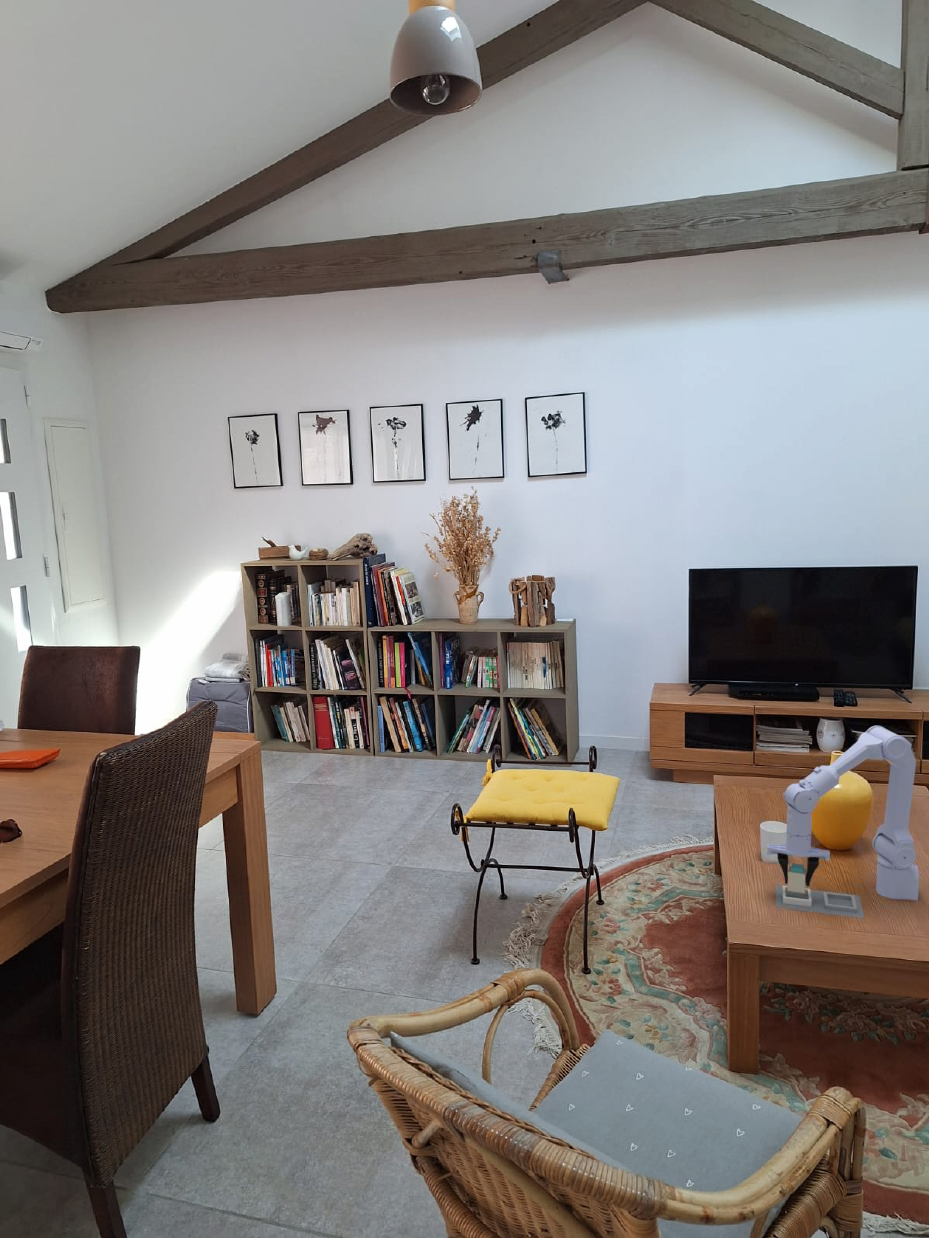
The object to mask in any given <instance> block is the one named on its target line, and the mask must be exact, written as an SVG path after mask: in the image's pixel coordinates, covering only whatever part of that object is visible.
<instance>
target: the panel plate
mask: <svg viewBox="0 0 929 1238" xmlns="http://www.w3.org/2000/svg"><path fill="white" fill-rule="evenodd" d="M783 886H784V885H781V886H780V885H775V887H774V888H775V890H774V893H775V908H776V909H777V908H778V909H785V910H793V911H800V912H801V911H802V912H808V913H809V912H810V913H815V914H816V913H818V914H825V915H832V916H840V917H847V918H848V917H849V918H856V919H865V915H864V911H863V906H862V902H861V898H860V895H857V894H853V895H854V897H855V901H856V906H857V913H854V912H846V911H838V910H830V909H825V905H824V898H823V892H826V891H825V890H824V891H823V890H816V889H815V890H814V889H810V891H811V900H812V906H811V907H810V906H802V905H794V904H786V903H783V892H782V889H783ZM828 892H829V893H835V892H831V891H828ZM837 893H838V894H843V893H841V892H837ZM845 894H846V895H852V894H850V893H845ZM786 897H792V898H800V899H808V895H802V894H793V893H786ZM827 898H828V897H827ZM828 904H832V905H840V906H849V907H852V903H851V900H845V899H836V898H828Z"/></svg>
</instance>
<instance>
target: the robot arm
mask: <svg viewBox="0 0 929 1238" xmlns="http://www.w3.org/2000/svg"><path fill="white" fill-rule="evenodd" d="M912 746H913V745H912V743H911V742H910V741H909V740H907V739H906V738H905V737H904V736H902V735H901V734H900V735H899V734H897V733H895V732H892V731H891V730H888V729H887V728H885V727H883V726H881V725H873V726H871V727H869V728H868V729H867V730H866V731H865V732H863V733H861V734H860V735H859V737H858V739H857V741H856V742H855V743H853V744H852V745H851V747H849V748H848V749H847V750H846V751H845V752H844V753H842V755H839V757H838V758H837V759H835V760H834V761H833V762H832V763H831V764H830V765H820V766H816V767H815V768H814V769H813V772H811V773H810V774H809V775H807V776H806V777H804V778H803V779H801V780H799V781H798V783H792V784H790V785H788V787H787V788H786V790H785V792H784V793H782V797H783V800H784V801H785V803H786V806H787V807H786V825H787V833H786V844H777V845H771V844H767V854H769V855H772V854H777V855H778V862H779V863H778V864H779V866H780V869H781V870H782V873H783V876H784V884H785V885H788V870H789V856H790V857H791V856H792V857H797V858H806V862H807V863H806V864H807V866H806V868H807V874H806V887H810V885H811V884H810V883H811V880H812V879H813V876H814V873H815V871H816V870H817V868H818V867H819V865H820V861H819V860H824V861H827V862H830V861H831V857H830V856H831V855H830V854H831V853H830V850H827V849H822V848H821V849H820V848H816V847H812V846H811V842H812V821H813V820H812V819H813V818H812V816H813V814H812V813H813V810H815V808H816V807H817V805H818V801H819V800H821V798H822V797H823V796H824V795H826V794H827V793H828V792H830V791H831V790H832V789H833V788H836V786H838V785H839V784H840V783H839V782H840V777H841V776H843V775H845V774H846V773H848V772H849V771H851V770H852V769H854V768H855V767H857V766H858V765H860V764H861V763H863V762H864V761H866V760H873V761H874V760H876V761H883V760H884V759H885V761H887V762H888V763H889V764H890V770H889V778H888V784H887V785H888V787H887V795H886V803H885V804H886V805H885V813H884V821H883V823H882V824H880V825H879V826H878V827H877V830H876V831H877V832H876V834H875V836H874V837H873V840H872V848H873V850H874V851H875V853H877V854H876V857H877V861H876V862H877V866H876V884H875V885H876V886H875V888H876V889H875V891H876V893H877V894H879V895H880V896H882V897H883V898H888V899H892V900H907V901H919V890H920V889H919V887H920V886H919V885H920V872H919V867H918V865H917V864H914V863H915V862H916V859H917V852H916V850H915V840H914V838H913V836H912V834H911V832H910V830H909V824H910V816H911V815H910V814H911V808H912V807H911V806H912V801H913V790H914V784H915V783H914V781H915V773H916V768H917V767H916V765H917V761H916V760H917V759H916V757H915V756H914V753H913V751H912Z"/></svg>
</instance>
